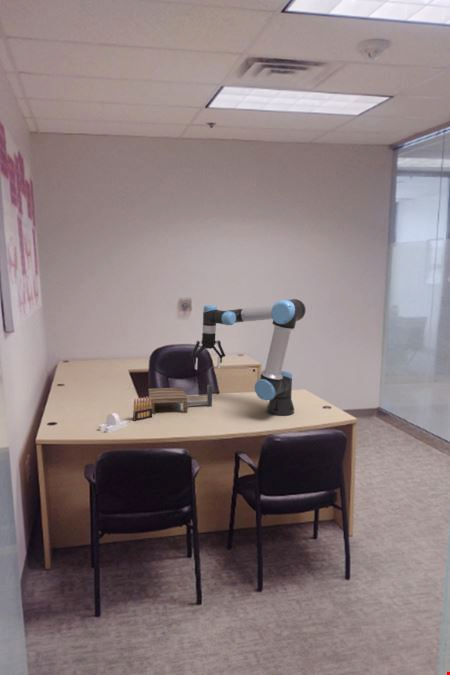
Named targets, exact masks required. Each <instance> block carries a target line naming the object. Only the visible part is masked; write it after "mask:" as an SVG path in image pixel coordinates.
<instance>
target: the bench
mask: <svg viewBox="0 0 450 675" xmlns="http://www.w3.org/2000/svg"><path fill="white" fill-rule="evenodd" d="M149 396H150V397H151V408H152V414H153V415H155V404H157V403H161V404H162V403H163V404H164V403H178V402H179V403H182V404H183V406H182V408H183V409H182V412H183V414H187V413H188V409H187V402H188V397H187V395H186V392H185V390H184V388H183V387H161V388H158V387H157V388H148V397H149Z"/></svg>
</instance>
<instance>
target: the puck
mask: <svg viewBox="0 0 450 675" xmlns="http://www.w3.org/2000/svg"><path fill="white" fill-rule="evenodd" d="M181 408H182V405H180V404H174V405H172V409H181Z"/></svg>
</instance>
